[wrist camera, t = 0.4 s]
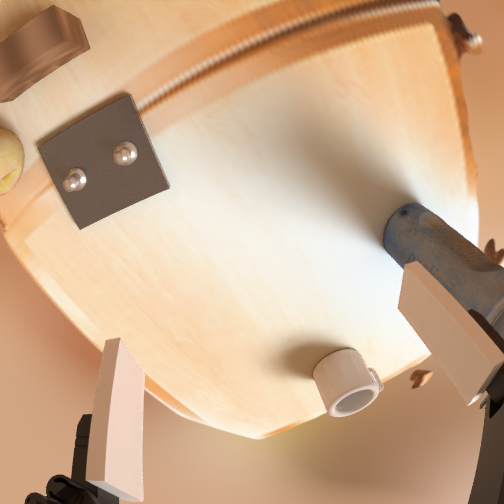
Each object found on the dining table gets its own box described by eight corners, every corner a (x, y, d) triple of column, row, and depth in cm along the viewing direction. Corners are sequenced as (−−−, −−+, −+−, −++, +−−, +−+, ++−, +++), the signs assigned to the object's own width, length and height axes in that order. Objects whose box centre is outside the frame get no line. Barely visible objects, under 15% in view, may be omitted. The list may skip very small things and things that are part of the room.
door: (12, 100, 25) (-24, 108, 18) (3, 72, 23) (-34, 75, 16) (90, 48, 25) (64, 39, 18) (80, 19, 23) (53, 5, 16)
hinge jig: (41, 146, 29) (28, 152, 26) (131, 94, 29) (124, 95, 26) (82, 226, 35) (73, 238, 32) (170, 185, 35) (167, 195, 32)
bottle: (433, 202, 43) (573, 314, 18) (419, 255, 48) (532, 376, 23) (389, 201, 42) (544, 337, 16) (376, 259, 47) (493, 405, 21)
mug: (306, 383, 60) (320, 422, 52) (321, 349, 55) (339, 390, 47) (359, 376, 63) (377, 409, 55) (378, 343, 58) (400, 378, 50)
